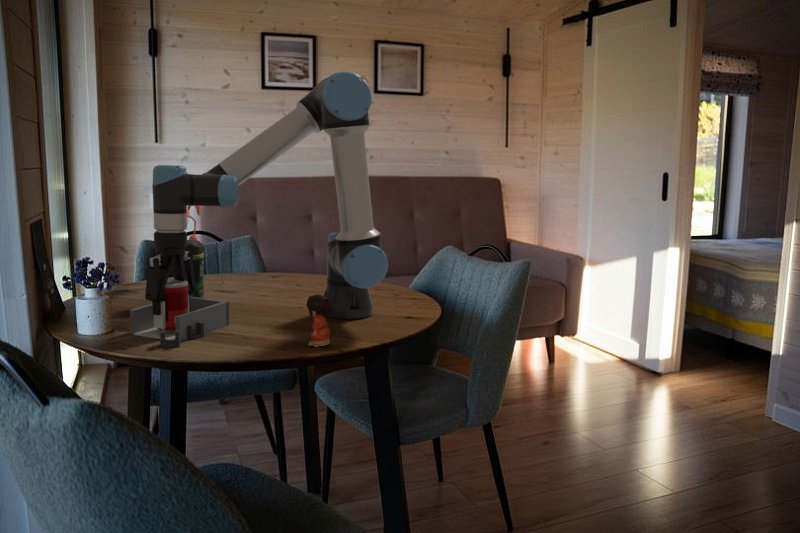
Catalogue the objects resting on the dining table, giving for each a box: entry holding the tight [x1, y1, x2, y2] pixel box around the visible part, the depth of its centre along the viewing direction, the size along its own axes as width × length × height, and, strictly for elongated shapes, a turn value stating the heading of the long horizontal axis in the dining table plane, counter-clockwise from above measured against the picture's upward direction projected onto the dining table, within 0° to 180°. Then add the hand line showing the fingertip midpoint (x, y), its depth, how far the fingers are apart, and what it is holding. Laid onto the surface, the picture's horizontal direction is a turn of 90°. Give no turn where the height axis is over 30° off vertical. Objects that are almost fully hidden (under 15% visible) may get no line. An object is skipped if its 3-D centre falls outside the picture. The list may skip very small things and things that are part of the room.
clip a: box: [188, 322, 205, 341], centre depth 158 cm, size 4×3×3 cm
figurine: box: [305, 294, 334, 348], centre depth 156 cm, size 6×6×12 cm
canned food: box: [157, 278, 188, 331], centre depth 160 cm, size 8×8×11 cm
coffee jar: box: [173, 239, 205, 298], centre depth 191 cm, size 10×8×19 cm
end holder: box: [129, 297, 230, 343], centre depth 164 cm, size 14×19×6 cm
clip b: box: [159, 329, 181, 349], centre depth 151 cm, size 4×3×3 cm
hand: (172, 323), depth 161 cm, fingers closed on canned food, 8 cm apart
